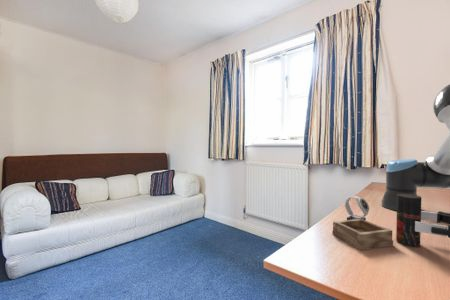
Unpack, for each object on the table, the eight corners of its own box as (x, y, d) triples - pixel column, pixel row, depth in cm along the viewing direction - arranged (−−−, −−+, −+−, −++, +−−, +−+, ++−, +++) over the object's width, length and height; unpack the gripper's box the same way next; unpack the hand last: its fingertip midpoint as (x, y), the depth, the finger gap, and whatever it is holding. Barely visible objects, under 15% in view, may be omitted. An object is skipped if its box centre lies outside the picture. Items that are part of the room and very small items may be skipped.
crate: (360, 230, 81) (360, 218, 81) (393, 245, 70) (393, 230, 70) (332, 234, 78) (332, 221, 78) (361, 250, 67) (361, 235, 67)
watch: (364, 230, 82) (364, 200, 81) (342, 224, 88) (342, 196, 88) (371, 227, 85) (371, 198, 84) (349, 221, 91) (349, 194, 91)
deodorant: (422, 249, 67) (423, 199, 67) (397, 244, 70) (398, 196, 70) (418, 241, 72) (419, 195, 72) (395, 237, 75) (396, 192, 75)
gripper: (548, 272, 48) (417, 246, 60) (498, 233, 68) (408, 220, 80) (550, 237, 48) (418, 218, 60) (499, 208, 68) (409, 199, 80)
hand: (412, 219), depth 70 cm, fingers open, 13 cm apart
